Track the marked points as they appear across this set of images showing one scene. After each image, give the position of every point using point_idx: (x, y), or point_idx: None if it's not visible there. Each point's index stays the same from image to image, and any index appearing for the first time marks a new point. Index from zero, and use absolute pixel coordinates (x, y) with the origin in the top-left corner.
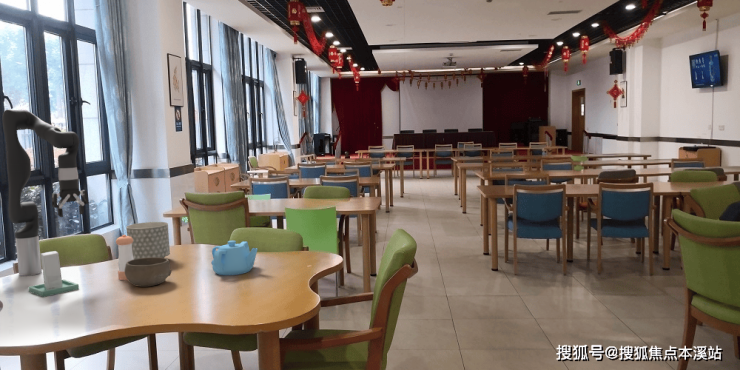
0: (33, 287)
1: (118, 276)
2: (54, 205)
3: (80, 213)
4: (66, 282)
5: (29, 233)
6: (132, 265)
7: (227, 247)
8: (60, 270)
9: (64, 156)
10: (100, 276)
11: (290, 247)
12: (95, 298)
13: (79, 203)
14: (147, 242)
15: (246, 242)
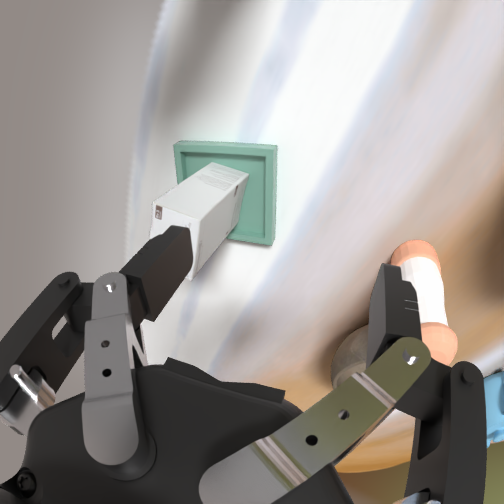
0: (180, 165)
1: (394, 256)
2: (73, 330)
3: (376, 283)
4: (266, 183)
5: None
6: (333, 387)
7: (487, 433)
8: (217, 247)
9: None
10: (397, 164)
11: None
12: (258, 327)
13: (387, 368)
14: None
15: None
